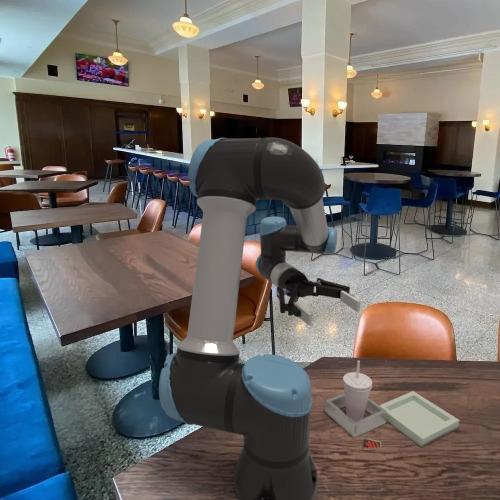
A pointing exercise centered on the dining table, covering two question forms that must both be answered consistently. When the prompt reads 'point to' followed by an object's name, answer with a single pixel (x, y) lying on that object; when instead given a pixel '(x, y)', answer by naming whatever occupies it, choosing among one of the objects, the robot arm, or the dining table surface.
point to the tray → (419, 418)
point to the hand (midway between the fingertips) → (335, 313)
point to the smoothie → (356, 393)
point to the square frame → (347, 423)
